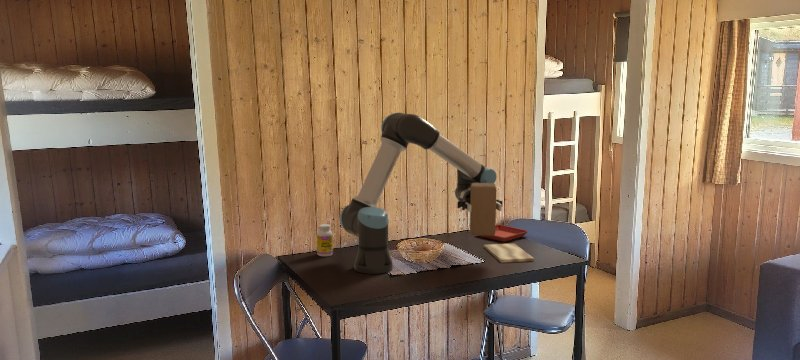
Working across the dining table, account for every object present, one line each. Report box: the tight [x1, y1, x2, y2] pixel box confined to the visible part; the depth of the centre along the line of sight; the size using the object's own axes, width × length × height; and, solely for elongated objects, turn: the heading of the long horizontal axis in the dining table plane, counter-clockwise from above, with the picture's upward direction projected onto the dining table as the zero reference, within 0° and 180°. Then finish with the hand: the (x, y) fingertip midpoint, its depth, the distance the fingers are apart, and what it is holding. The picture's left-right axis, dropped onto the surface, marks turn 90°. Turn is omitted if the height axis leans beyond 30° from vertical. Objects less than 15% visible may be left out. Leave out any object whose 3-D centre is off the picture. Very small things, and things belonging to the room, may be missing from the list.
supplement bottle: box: [316, 223, 334, 257], centre depth 264 cm, size 7×7×13 cm
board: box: [483, 242, 535, 263], centre depth 266 cm, size 14×24×1 cm, turn 9°
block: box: [469, 183, 497, 236], centre depth 252 cm, size 10×10×20 cm
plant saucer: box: [478, 224, 529, 243], centre depth 296 cm, size 18×18×3 cm
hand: (485, 208), depth 248 cm, fingers closed on block, 12 cm apart
